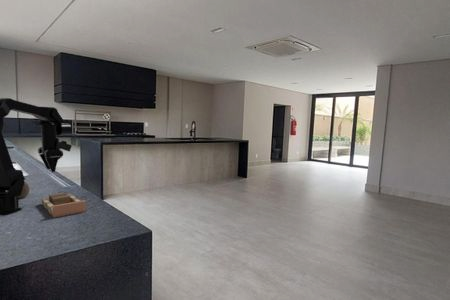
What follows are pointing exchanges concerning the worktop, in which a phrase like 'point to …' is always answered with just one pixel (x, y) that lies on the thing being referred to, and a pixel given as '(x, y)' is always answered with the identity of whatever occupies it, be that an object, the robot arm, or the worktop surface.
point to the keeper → (59, 198)
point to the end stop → (69, 208)
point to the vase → (24, 191)
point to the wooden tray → (48, 205)
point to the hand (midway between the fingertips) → (51, 170)
